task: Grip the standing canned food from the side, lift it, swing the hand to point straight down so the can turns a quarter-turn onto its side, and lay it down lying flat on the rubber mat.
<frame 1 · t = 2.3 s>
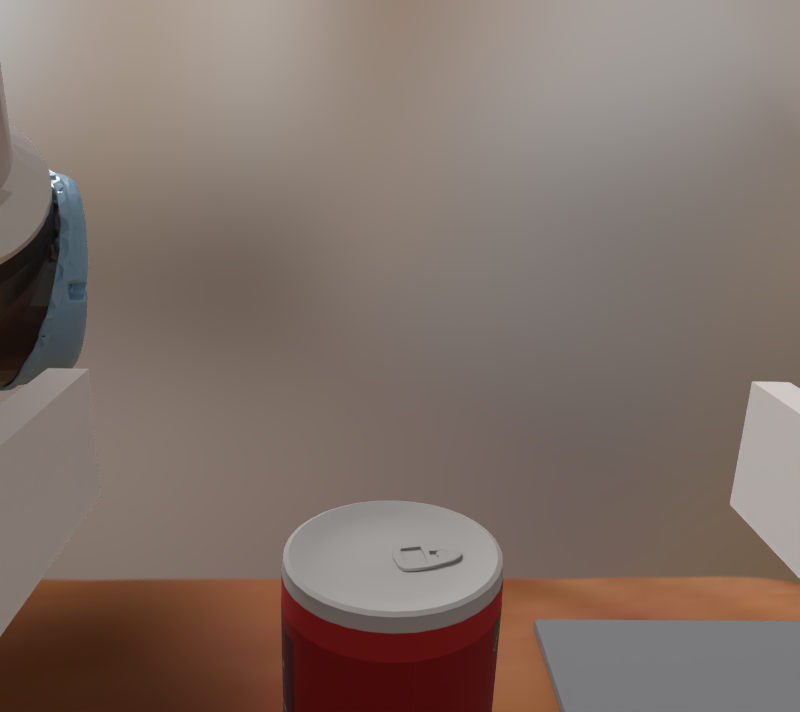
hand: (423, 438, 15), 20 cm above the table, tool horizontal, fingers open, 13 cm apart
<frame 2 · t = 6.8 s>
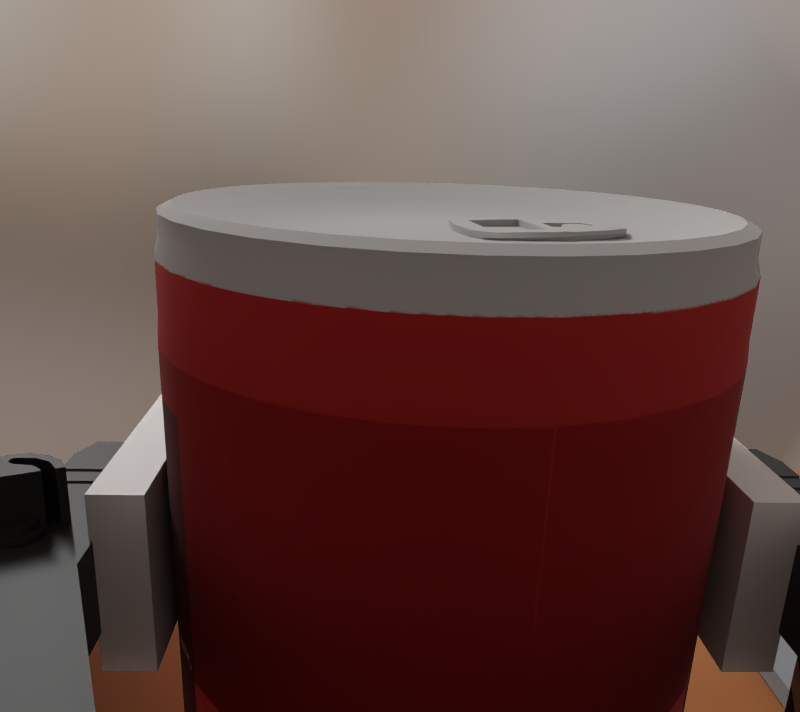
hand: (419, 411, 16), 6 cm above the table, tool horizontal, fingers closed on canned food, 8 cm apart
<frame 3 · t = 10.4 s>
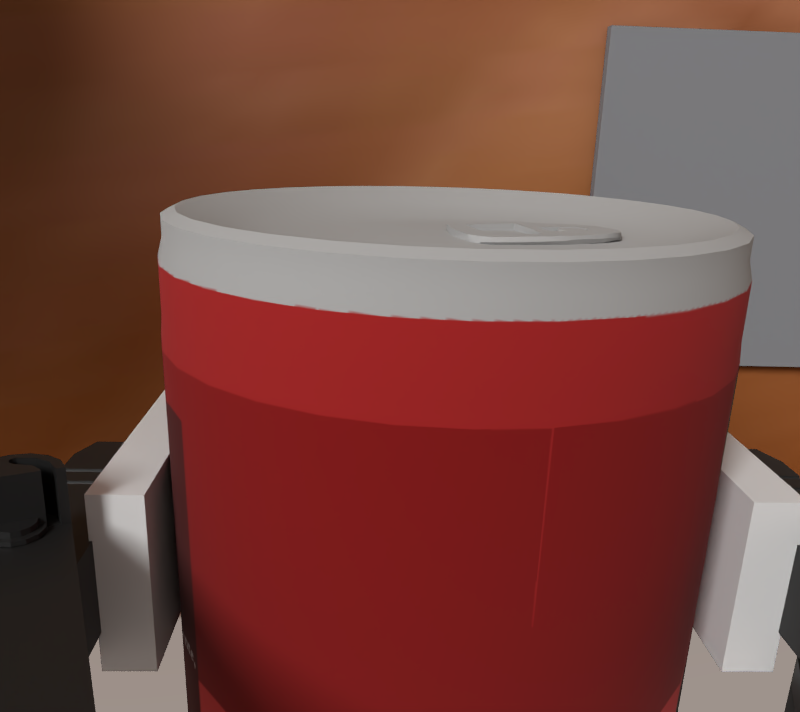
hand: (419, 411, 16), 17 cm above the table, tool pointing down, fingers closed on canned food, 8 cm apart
rubber mat: (771, 209, 32), on the table
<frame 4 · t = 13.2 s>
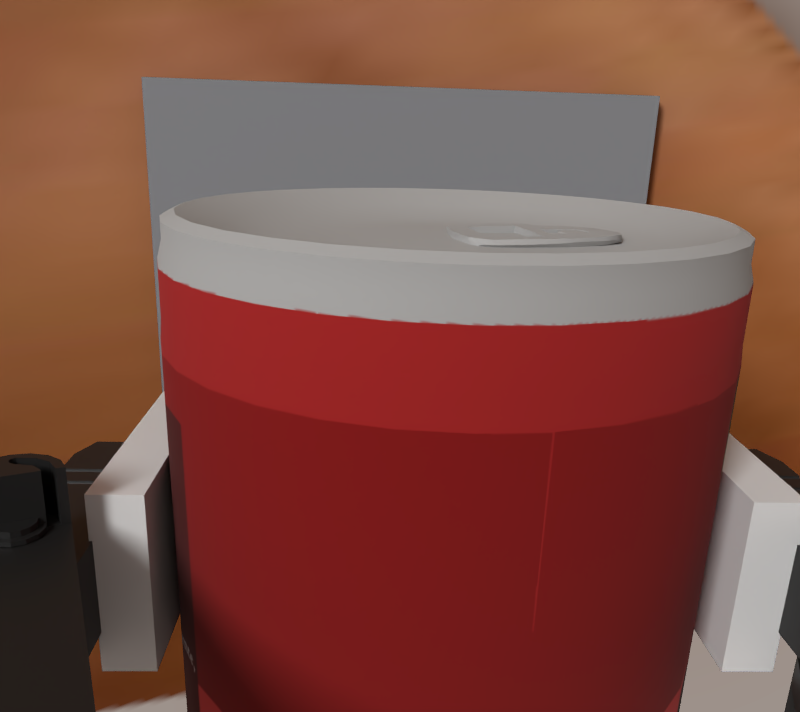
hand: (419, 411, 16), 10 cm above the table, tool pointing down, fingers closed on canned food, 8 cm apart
rubber mat: (397, 304, 26), on the table
when the fingers open (3 cm above the table, at t = 14.9 s): canned food drops 3 cm, resting on rubber mat.
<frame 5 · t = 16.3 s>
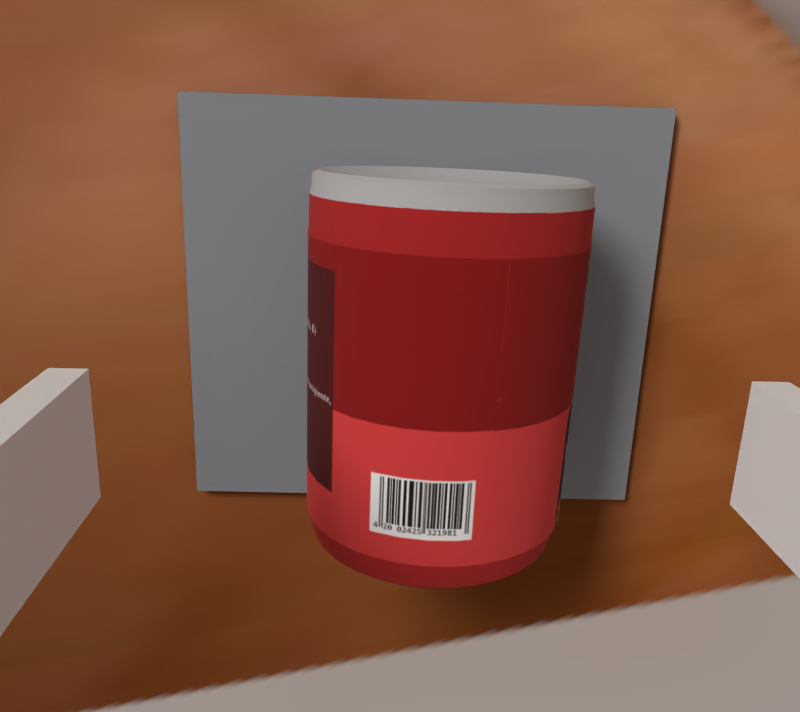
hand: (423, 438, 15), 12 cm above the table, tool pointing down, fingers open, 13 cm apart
canned food: (430, 531, 24), point 4 cm above the table, touching rubber mat
rubber mat: (419, 309, 26), on the table
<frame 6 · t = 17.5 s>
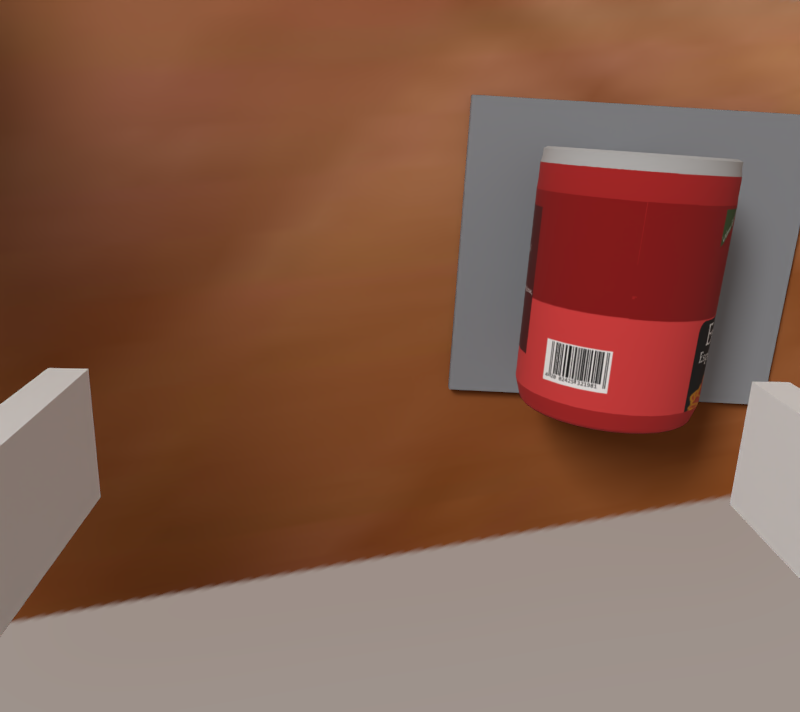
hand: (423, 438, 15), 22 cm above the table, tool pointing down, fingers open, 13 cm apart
canned food: (601, 408, 34), point 4 cm above the table, touching rubber mat
rubber mat: (623, 257, 36), on the table
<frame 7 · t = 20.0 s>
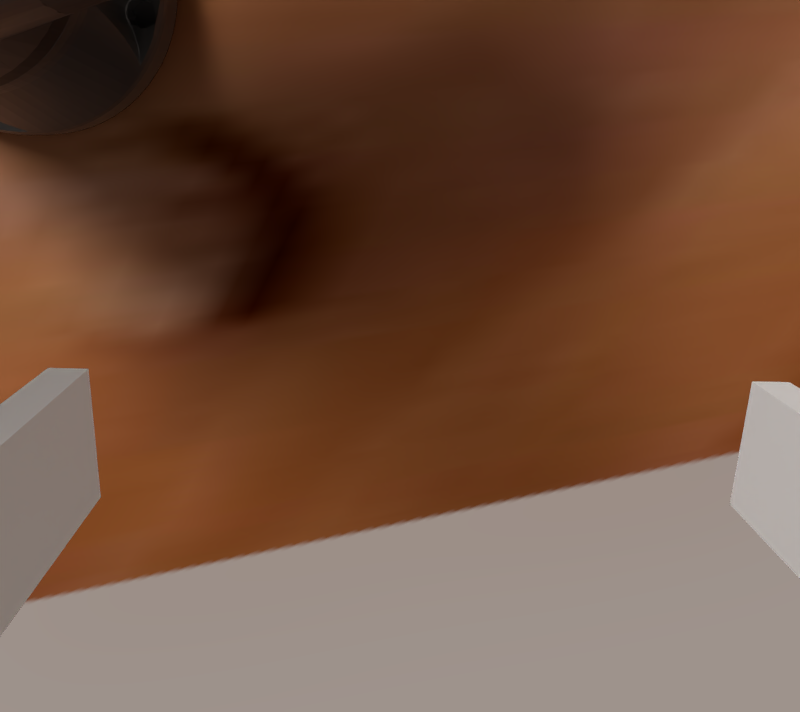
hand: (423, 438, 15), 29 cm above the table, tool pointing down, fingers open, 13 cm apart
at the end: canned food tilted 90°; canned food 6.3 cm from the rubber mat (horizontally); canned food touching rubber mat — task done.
